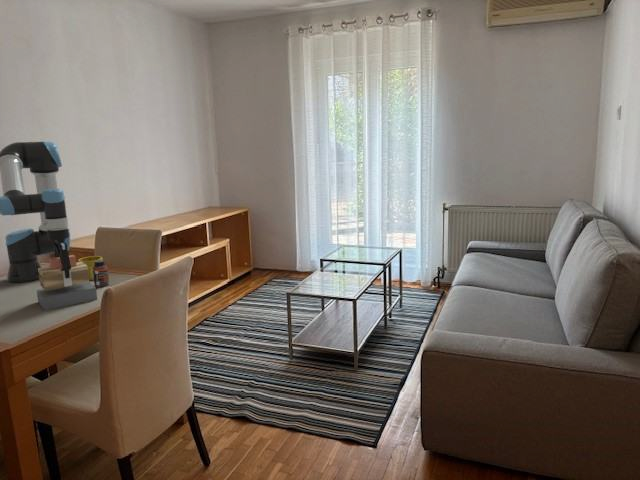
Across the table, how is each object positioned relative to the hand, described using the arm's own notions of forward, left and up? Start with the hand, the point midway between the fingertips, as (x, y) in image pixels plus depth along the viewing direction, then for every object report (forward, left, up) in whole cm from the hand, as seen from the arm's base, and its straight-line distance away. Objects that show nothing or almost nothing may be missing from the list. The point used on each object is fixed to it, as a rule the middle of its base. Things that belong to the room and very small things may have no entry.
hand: (65, 283), depth 191 cm
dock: (0, 0, -7) cm, 7 cm away
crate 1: (0, -2, +7) cm, 7 cm away
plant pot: (-29, +17, -8) cm, 34 cm away
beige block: (0, 0, 0) cm, 0 cm away
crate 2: (0, +3, +7) cm, 7 cm away
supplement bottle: (-13, +17, -8) cm, 22 cm away
